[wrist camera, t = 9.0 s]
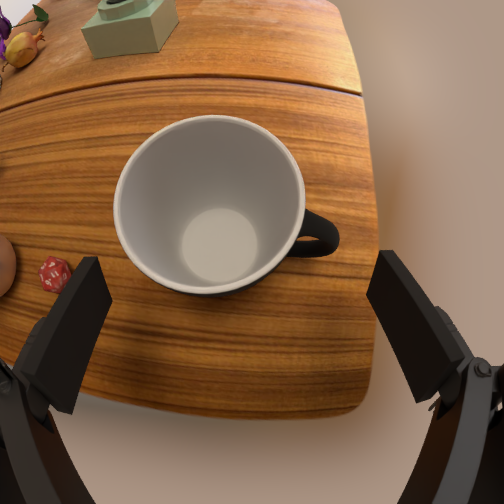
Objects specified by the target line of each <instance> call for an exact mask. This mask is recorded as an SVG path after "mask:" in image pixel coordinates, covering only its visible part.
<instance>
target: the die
mask: <svg viewBox="0 0 504 504" xmlns="http://www.w3.org/2000/svg"><path fill="white" fill-rule="evenodd" d="M38 273H39V277H40V280H41V283H42V286H43V289H44V290H45V291H49V292H54V293H61V291H62V290H63V288H64V287H65V285H66V283H67V282H68V280H69V279H70V277H71V276H72V275H71V273H70V270H69V268H68V265H67V262H66V260H63V259H59V258H55V257H51V256H49V257H48V258H47V259H46V261H45V262H44V264H43V265H42V267H41V268H40V269H39V271H38Z"/></svg>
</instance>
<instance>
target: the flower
mask: <svg viewBox="0 0 504 504" xmlns="http://www.w3.org/2000/svg"><path fill="white" fill-rule="evenodd" d="M33 7H34V12H35V14H36V15H37V19H36V20H32V21H39V22H43V21H45V20H46V21H47V20H48V14H47V13H46V12H45V11H44V10H43V9H42V8H40V7H38V6H36V5H34V4H33ZM0 14H1V16H2V18H1V17H0V57H1V58H2V59H3V60H6V58H5V56H3V52H4V51H5V49H6V47H5V44H4V40H7V39H8V38H9V35H10V33H11V29H12V28H13V27H12V25H11V23H10V21H9V20H8V19H7V18H5V17H4V16H3V15H2V12H1V7H0ZM32 21H29V22H32ZM46 21H45V22H46ZM27 23H28V22H26V23H23V24H27ZM23 24H21V25H23ZM17 26H20V25H17ZM17 26H14V27H17ZM25 26H26V25H25Z"/></svg>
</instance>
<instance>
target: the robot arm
mask: <svg viewBox="0 0 504 504" xmlns="http://www.w3.org/2000/svg"><path fill="white" fill-rule="evenodd" d="M366 296H367V298H368V300H369V302H370V304H371V305H372V307H373V309H374V311H375V313H376V315H377V317H378V319H379V321H380V323H381V325H382V327H383V330H384V332H385V333H386V336H387V338H388V340H389V342H390V344H391V346H392V348H393V351H394V353H395V355H396V357H397V359H398V362H399V364H400V366H401V368H402V371H403V373H404V375H405V377H406V380H407V382H408V385H409V387H410V389H411V392H412V394H413V397H414V399H415V402H416V403H419V402H422V401H425V400H428V399H431V398H432V397H433V395H434V394H435V393H436V392H437V391H439V394H440V397H439V398H438V399H437V400H436V401H435V402H434V403H433V404H432V405H431V406H430V408H429V410H428V411H431V410H432V409H433V408H434V407H435V410H434V411H433V416H432V420H431V423H430V426H429V429H428V433H427V435H426V438H425V441H424V444H423V446H422V449H421V452H420V455H419V457H418V460H417V462H416V464H415V467H414V469H413V472H412V474H411V476H410V478H409V481H408V483H407V485H406V487H405V489H404V491H403V493H402V495H401V497H400V499H399V501H398V503H397V504H504V364H503V365H502V366H491V365H490V364H489V363H488V362H487V361H486V360H484V359H483V358H479V357H476V358H475V357H474V356H473V354H472V352H471V351H470V349H469V347H468V346H467V344H466V342H465V341H464V339H463V337H462V336H461V334H460V333H459V331H457V328H456V327H455V325H454V324H453V322H452V320H451V319H450V317H449V316H448V314H447V313H446V312H444V310H442V309H441V308H440V307H439V306H436V307H434V306H433V304H432V303H431V301H430V300H429V298H428V297H427V296H426V294H425V293H424V291H423V290H422V288H421V287H420V286H419V284H418V283H417V281H416V280H415V279H414V278H413V276H412V275H411V273H410V272H409V270H408V269H407V268H406V267H405V265H404V264H403V263H402V261H401V260H400V259H399V258H398V256H397V255H396V254H395V252H394V251H393V250H380V251H379V254H378V258H377V261H376V265H375V268H374V271H373V275H372V278H371V281H370V284H369V287H368V290H367V293H366ZM111 304H112V298H111V295H110V293H109V290H108V287H107V284H106V281H105V279H104V276H103V273H102V270H101V267H100V264H99V261H98V257H97V256H96V257H84V258H83V259H82V261H81V262H80V263H79V265H78V266H77V268H76V269H75V271H74V272H73V274H72V276H71V277H70V279H69V280H68V282H67V283H66V285H65V287H64V288H63V290H62V291H61V293H60V295H59V296H58V298H57V300H56V301H55V303H54V305H53V306H52V308H51V310H50V312H49V313H48V315H47V317H42V318H41V319H40V320H39V321H38V322H37V323H36V324H35V325H34V327H33V329H32V331H31V333H30V334H29V335H30V336H28V338H27V340H26V344H24V346H23V348H22V350H21V352H20V354H19V356H18V358H17V360H16V362H15V365H14V367H13V369H12V371H11V369H10V368H9V367H8V366H7V364H6V363H5V362H4V361H3V360H2V359H1V358H0V504H96V503H95V502H94V500H93V499H92V497H91V495H90V494H89V492H88V490H87V488H86V487H85V485H84V483H83V481H82V480H81V478H80V476H79V474H78V472H77V470H76V469H75V467H74V465H73V463H72V461H71V459H70V456H69V454H68V452H67V450H66V448H65V446H64V444H63V441H62V439H61V437H60V434H59V432H58V430H57V427H56V424H55V422H54V419H53V416H52V414H51V412H50V411H49V410H48V408H49V405H50V404H51V405H52V406H53V407H54V408H55V409H56V410H57V411H60V412H63V413H67V414H71V415H72V413H73V410H74V406H75V403H76V399H77V396H78V393H79V390H80V387H81V383H82V380H83V377H84V374H85V371H86V368H87V366H88V363H89V360H90V357H91V354H92V352H93V349H94V346H95V343H96V341H97V338H98V336H99V333H100V330H101V328H102V325H103V323H104V321H105V318H106V316H107V313H108V311H109V308H110V306H111ZM501 402H502V409H501V410H498V405H499V404H500V403H501Z"/></svg>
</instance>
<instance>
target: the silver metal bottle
mask: <svg viewBox="0 0 504 504" xmlns="http://www.w3.org/2000/svg"><path fill="white" fill-rule="evenodd" d="M15 273H16V255H15V252H14V249H13V247H12V245H11V243H10V241H9V240H7V239H6V238H5V237H3V236H2V235H1V234H0V297H1V296H2V295H3V294H5V293H6V292H7V291H8V290H9V288H10V287H11V285H12V283H13V280H14V277H15Z"/></svg>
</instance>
